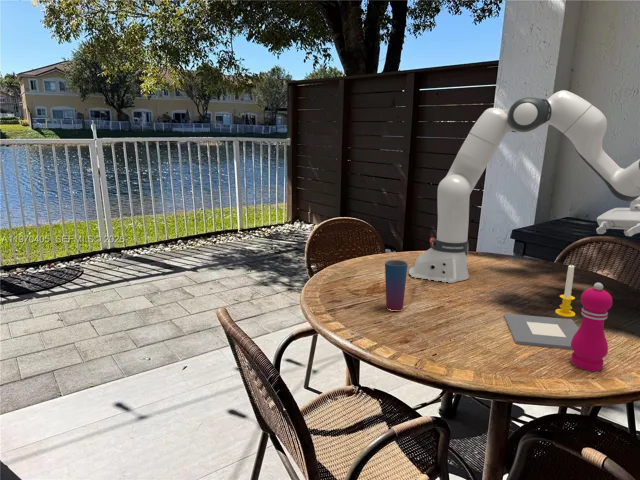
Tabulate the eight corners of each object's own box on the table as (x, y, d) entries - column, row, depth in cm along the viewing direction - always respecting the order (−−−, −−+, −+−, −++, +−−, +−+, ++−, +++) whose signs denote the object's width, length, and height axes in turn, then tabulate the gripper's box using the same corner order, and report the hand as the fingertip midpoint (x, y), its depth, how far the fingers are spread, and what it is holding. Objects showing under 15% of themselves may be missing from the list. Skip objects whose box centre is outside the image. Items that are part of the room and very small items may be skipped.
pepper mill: (561, 357, 101) (572, 278, 97) (590, 355, 102) (602, 277, 97) (582, 373, 94) (595, 288, 90) (612, 371, 95) (627, 287, 90)
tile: (515, 343, 108) (516, 340, 108) (503, 316, 125) (504, 313, 125) (594, 351, 104) (595, 348, 104) (571, 321, 121) (571, 318, 121)
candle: (567, 318, 123) (575, 267, 120) (551, 312, 128) (557, 263, 124) (578, 315, 125) (586, 265, 122) (562, 309, 130) (568, 260, 126)
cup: (405, 314, 127) (407, 266, 124) (382, 312, 128) (384, 265, 125) (405, 305, 134) (407, 260, 130) (384, 304, 135) (385, 259, 131)
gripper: (613, 200, 135) (580, 222, 133) (678, 199, 115) (640, 225, 113) (621, 217, 136) (587, 239, 134) (686, 219, 116) (648, 245, 114)
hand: (612, 232), depth 123 cm, fingers open, 8 cm apart
